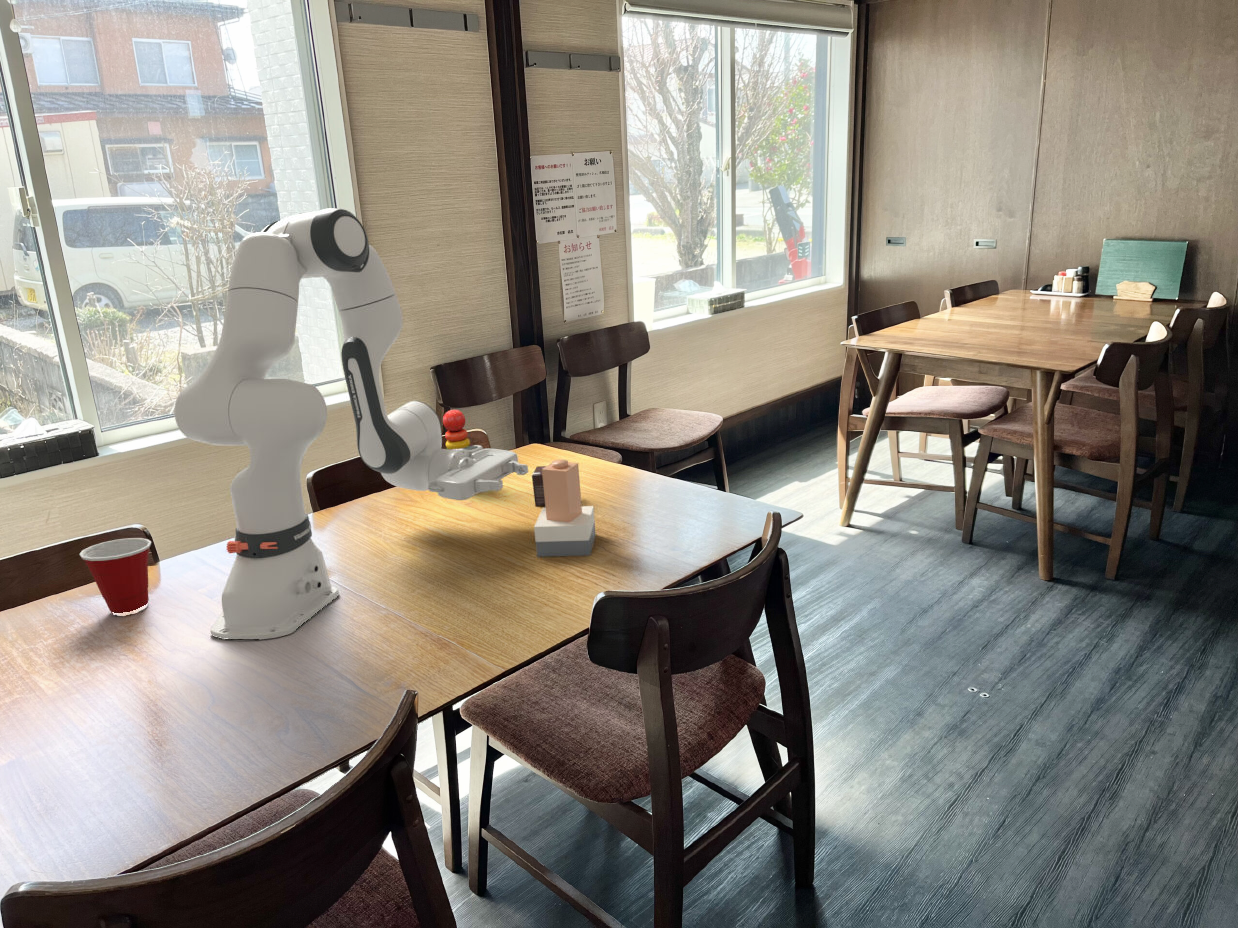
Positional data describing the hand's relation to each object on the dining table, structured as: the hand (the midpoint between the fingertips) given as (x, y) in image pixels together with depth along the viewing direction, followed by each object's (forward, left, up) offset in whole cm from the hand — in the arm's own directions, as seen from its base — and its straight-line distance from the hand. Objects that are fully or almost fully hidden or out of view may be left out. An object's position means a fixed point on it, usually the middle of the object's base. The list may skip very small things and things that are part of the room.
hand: (513, 477), depth 171 cm
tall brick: (-3, -10, -7) cm, 12 cm away
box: (+22, -3, -13) cm, 25 cm away
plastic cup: (-26, +64, -13) cm, 71 cm away
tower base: (-3, -10, -13) cm, 17 cm away
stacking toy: (+33, +19, -13) cm, 40 cm away
